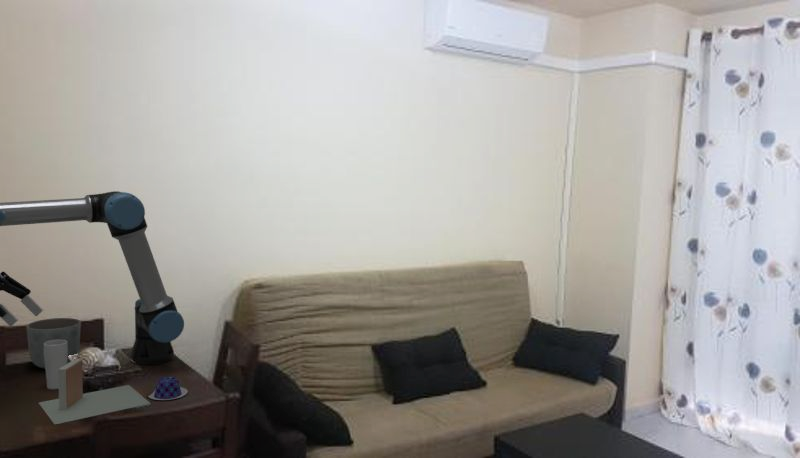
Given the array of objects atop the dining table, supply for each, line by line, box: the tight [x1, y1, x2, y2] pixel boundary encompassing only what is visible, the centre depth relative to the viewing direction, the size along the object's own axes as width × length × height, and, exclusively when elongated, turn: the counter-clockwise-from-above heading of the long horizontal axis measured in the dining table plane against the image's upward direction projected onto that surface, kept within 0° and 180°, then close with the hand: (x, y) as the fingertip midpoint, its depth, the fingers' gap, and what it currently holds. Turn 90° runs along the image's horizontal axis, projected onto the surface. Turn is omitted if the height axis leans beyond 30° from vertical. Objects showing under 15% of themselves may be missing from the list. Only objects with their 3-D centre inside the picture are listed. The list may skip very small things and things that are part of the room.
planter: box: [25, 317, 82, 369], centre depth 222 cm, size 17×17×15 cm
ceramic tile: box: [58, 358, 84, 410], centre depth 187 cm, size 2×10×12 cm, turn 1°
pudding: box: [147, 376, 188, 401], centre depth 198 cm, size 12×12×5 cm
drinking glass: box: [44, 340, 68, 390], centre depth 200 cm, size 7×7×15 cm
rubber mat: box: [38, 384, 152, 425], centre depth 188 cm, size 26×20×1 cm
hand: (27, 318), depth 185 cm, fingers open, 12 cm apart
